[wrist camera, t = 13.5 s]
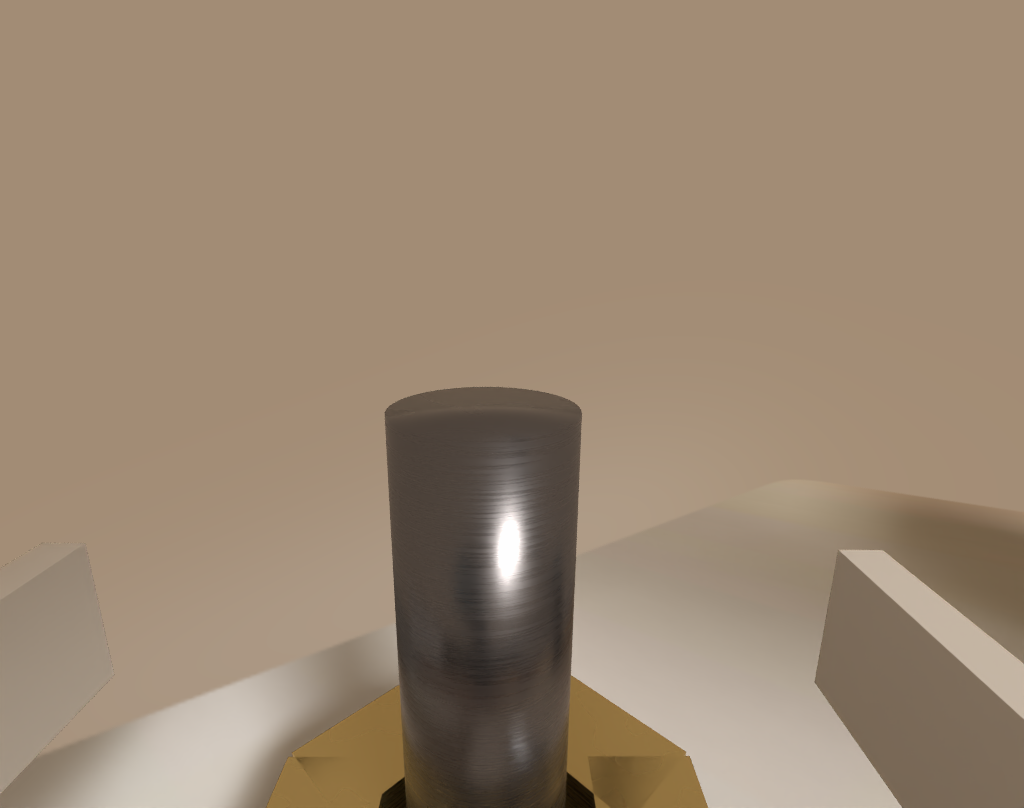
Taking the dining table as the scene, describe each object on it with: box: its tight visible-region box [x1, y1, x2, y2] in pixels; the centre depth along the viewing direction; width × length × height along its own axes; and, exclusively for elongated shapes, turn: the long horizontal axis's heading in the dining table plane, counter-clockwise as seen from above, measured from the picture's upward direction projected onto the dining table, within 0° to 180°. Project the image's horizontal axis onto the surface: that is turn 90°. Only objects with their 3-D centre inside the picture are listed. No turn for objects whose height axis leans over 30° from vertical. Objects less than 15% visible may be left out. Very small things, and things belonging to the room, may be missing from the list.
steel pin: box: [385, 387, 582, 808], centre depth 12 cm, size 4×4×14 cm
